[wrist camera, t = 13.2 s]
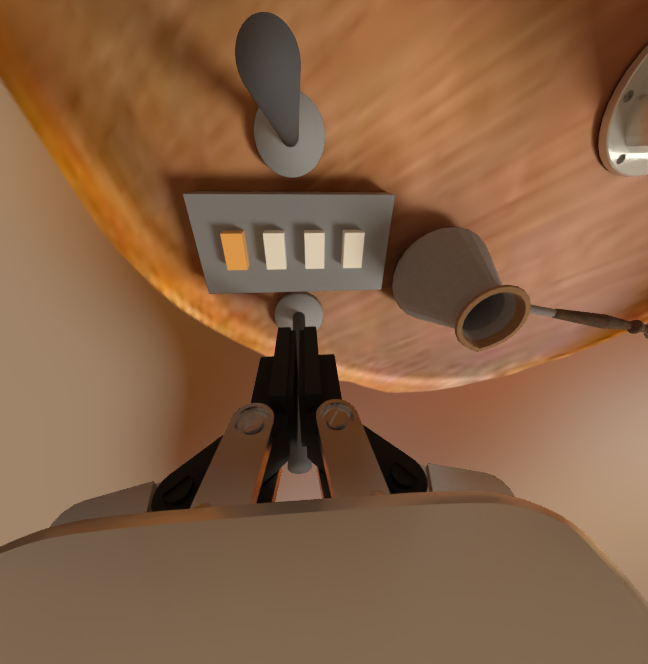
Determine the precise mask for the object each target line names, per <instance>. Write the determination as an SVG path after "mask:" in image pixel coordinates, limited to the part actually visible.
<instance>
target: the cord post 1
mask: <svg viewBox="0 0 648 664" xmlns="http://www.w3.org/2000/svg"><path fill="white" fill-rule="evenodd" d="M235 57H236V64H237V68H238V72H239V75H240V77H241V79H242V82H243V83H244V85H245V87H246V88H247V90H248V91H249V93H250V94H251V96H252V97H253V99H254V100H255V102H256V103H257V105H258V106H259V108H258V110H257V112H256V116H255V121H254V138H255V143H256V147H257V149H258V152H259V154H260V156H261V158H262V159H263V161H264V162H265V163H266V165H267V166H268V167H269V168H270V169H271V170H273V171H274V172H276V173H277V174H279V175H282V176H285V177H291V178H294V177H300V176H303V175H305V174H307V173H308V172H310V171H311V170H312V169H313V168H314V167H315V166H316V164H317V163H318V161H319V159H320V157H321V155H322V152H323V149H324V143H325V130H324V124H323V120H322V117H321V115H320V113H319V111H318V109H317V107H316V106H315V104H314V103H313V102H312V100H311V99H310V98H309V97H307V96H306V95H305V94H303V93H302V92H300V70H301V61H300V53H299V48H298V44H297V42H296V39H295V37H294V35H293V33H292V31H291V30H290V28H289V27H288V25H287V24H286V23H285V22H284V21H283V20H282V19H280V18H279V17H278V16H276V15H274V14H271V13H268V12H259V13H255V14H253V15H251V16H250V17H249V18H247V19H246V21H245V22H244V23H243V24H242V26H241V28H240V30H239V32H238V35H237V39H236V46H235Z"/></svg>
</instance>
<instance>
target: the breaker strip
mask: <svg viewBox="0 0 648 664" xmlns="http://www.w3.org/2000/svg"><path fill="white" fill-rule="evenodd" d="M183 196H184V200H185V204H186V208H187V212H188V215H189V219H190V223H191V227H192V231H193V234H194V238H195V242H196V246H197V250H198V253H199V257H200V261H201V265H202V269H203V272H204V276H205V280H206V284H207V288H208V291H209V294H223V293H262V292H301V291H341V290H380V289H381V286H382V280H383V273H384V266H385V259H386V253H387V246H388V239H389V232H390V226H391V219H392V212H393V205H394V199H395V195H394V194H390V193H387V192H260V191H193V192H189V193H185V194H183Z"/></svg>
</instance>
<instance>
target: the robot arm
mask: <svg viewBox="0 0 648 664" xmlns="http://www.w3.org/2000/svg"><path fill="white" fill-rule="evenodd" d="M598 148H599V155H600V158H601V161H602V163H603V165H604V166H605V167H606V168H607V170H608V171H610V172H612V173H614V174H616V175H620V176H643V175H648V45H647V46H646V47H645V48H644V49H643V50H642V52H641V53H640V54H639V55H638V57H637V58H636V59H635V60H634V62H633V63H632V64H631V66H630V67H629V68H628V70H627V71H626V73H625V74H624V76H623V78H622V79H621V81H620V82H619V84H618V85H617V87H616V89H615V91H614V93H613V95H612V97H611V99H610V101H609V103H608V106H607V108H606V111H605V114H604V116H603V119H602V123H601V128H600V132H599V143H598ZM298 399H299V415H300V430H301V445H302V447H307V458H308V459H309V460H310V461H311V462H313V463H314V464H315V465H316V466H317V474H318V479H319V484H320V489H321V495H322V499H314V500H300V501H287V502H275V500H276V496H277V491H278V487H279V482H280V477H281V473H282V466H283V465H284V464H285V463H286V462H287V461H288V460H289V459H290V456H292V447H297V442H298ZM0 664H648V602H647V601H646V600H645V598H644V597H643V596H642V595H641V594H640V592H639V591H638V590H637V589H636V588H635V586H634V585H633V584H632V583H631V582H630V580H629V579H628V578H627V577H626V576H625V575H624V573H623V572H622V571H621V570H620V569H619V568H618V567H617V565H615V563H614V562H613V561H612V560H611V559H610V558H609V556H608V555H607V554H606V553H605V552H604V551H603V550H602V549H601V548H600V547H599V546H598V545H597V544H596V543H595V542H594V541H593V540H592V539H591V538H590V537H589V536H588V535H587V534H586V533H585V532H584V531H582V530H581V529H580V528H579V527H577V526H576V525H575V524H574V523H573V522H571V521H569V520H568V519H566V518H565V517H563V516H561V515H559V514H557V513H555V512H553V511H551V510H549V509H547V508H545V507H542V506H540V505H538V504H535V503H532V502H530V501H527V500H524V499H521V498H517V497H515V496H514V495H513V493H512V491H511V489H510V488H509V487H508V486H507V485H506V484H505V483H504V482H503V481H502V480H500V479H499V478H497V477H495V476H494V475H490V474H488V473H483V472H477V471H471V470H466V469H460V468H454V467H448V466H442V465H436V464H431V463H428V464H427V466H425V465H419V464H418V463H417V462H416V461H415V460H414V459H412V458H411V457H409V456H408V455H406V454H405V453H404V452H402V451H401V450H399V449H398V448H396V447H395V446H393V445H392V444H390V443H389V442H387V441H386V440H384V439H383V438H382V437H380V436H379V435H377V434H376V433H374V432H373V431H371V430H370V429H368V428H367V427H365V426H364V425H362V423H361V420H360V418H359V415H358V413H357V411H356V409H355V407H354V406H353V405H351V404H350V403H349V402H347V401H344V400H342V398H341V392H340V386H339V380H338V373H337V367H336V361H335V356H334V354H329V355H318V343H317V331H316V326H311V327H304V330H299V376H298V359H297V342H296V330H291V327H279V328H278V333H277V340H276V347H275V354H274V356H272V357H261V359H260V363H259V368H258V372H257V377H256V381H255V386H254V390H253V395H252V401H251V404H247V405H245V406H243V407H241V408H239V409H238V410H237V411H236V412H235V413H234V414H233V416H232V418H231V419H230V422H229V424H228V426H227V428H226V430H225V433H224V435H222V436H221V437H220V438H218V439H217V440H216V441H214V442H213V443H212V444H210V445H209V446H208V447H206V448H205V449H203V450H202V451H201V452H200V453H198V454H197V455H195V456H194V457H193V458H191V459H190V460H189V461H187V462H186V463H185V464H183V465H182V466H181V467H179V468H178V469H177V470H175V471H174V472H173V473H171V474H170V475H169V476H168V477H167V478H165V479H164V480H163V481H162V482H160V483H157V484H155V482H154V481H152V482H148V483H145V484H141V485H138V486H134V487H131V488H127V489H123V490H120V491H117V492H113V493H109V494H106V495H103V496H99V497H95V498H92V499H88V500H85V501H82V502H80V503H77V504H75V505H73V506H72V507H70V508H69V509H67V510H66V511H64V512H63V513H62V514H61V515H60V516H59V517H58V518H57V519H56V520H55V521H54V522H53V523H52V524H51V526H50V527H49V528H46V529H43V530H40V531H37V532H35V533H32V534H29V535H27V536H24V537H21V538H19V539H16V540H14V541H12V542H10V543H7V544H5V545H3V546H0Z"/></svg>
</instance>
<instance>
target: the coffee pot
mask: <svg viewBox="0 0 648 664" xmlns="http://www.w3.org/2000/svg"><path fill="white" fill-rule="evenodd" d="M392 289H393V294H394V298H395V300H396V302H397V304H398V306H399V307H400V308H401V309H402V310H403V311H404V312H405V313H406V314H408V315H410V316H412V317H415V318H417V319H421V320H425V321H428V322H432V323H436V324H439V325H443V326H447V327H450V328H454V329H455V334H456V337H457V339H458V341H459V342H460V343H461V344H462V345H464V346H466V347H467V348H469V349H471V350H474V351H476V352H479V351H482V350H486V349H489V348H491V347H494V346H496V345H498V344H500V343H502V342H505V341H506V340H508V339H509V338H510V337H512V336H513V335H514V334H515V333H516V332H517V331H518V330H519V329H520V328H521V327H522V326H523V324H524V323H525V322H526V320H527V318H528V315H529V314H536V315H543V316H550V317H552V318H556V319H561V320H565V321H570V322H575V323H579V324H584V325H588V326H593V327H597V328H607V329H623V330H627V331H628V332H629V333H632V334H636V333H639V332H644V335H645V337H646V338H648V335H647V334H648V324H647V325H645V324H643V322H642V321H640V320H633V321H631V322H630V321H626V320H623V319H619V318H616V317H612V316H609V315H605V314H597V313H588V312H580V311H571V310H563V309H551V308H546V307H540V306H535V305H531V303H530V298H529V296H528V295H527V293H526V292H525V291H524V290H523V289H521V288H519V287H518V286H512V285H502V283H501V281H500V278H499V276H498V273H497V271H496V269H495V266H494V264H493V261H492V259H491V256H490V254H489V252H488V249H487V247H486V245H485V243H484V242H483V241H482V239H481V238H480V237H479V236H478V235H477V234H475V233H473V232H472V231H470V230H468V229H464V228H459V227H450V228H441V229H438V230H435V231H433V232H430V233H427V234H426V235H424V236H422V237H421V238H419V239H418V240H416V241H415V242H414V243H413V244H412V245H411V246H410V247H409V248H408V249H407V250H406V251H405V252H404V253H403V255H402V256H401V258H400V260H399V261H398V263H397V266H396V269H395V272H394V275H393V284H392Z"/></svg>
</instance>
